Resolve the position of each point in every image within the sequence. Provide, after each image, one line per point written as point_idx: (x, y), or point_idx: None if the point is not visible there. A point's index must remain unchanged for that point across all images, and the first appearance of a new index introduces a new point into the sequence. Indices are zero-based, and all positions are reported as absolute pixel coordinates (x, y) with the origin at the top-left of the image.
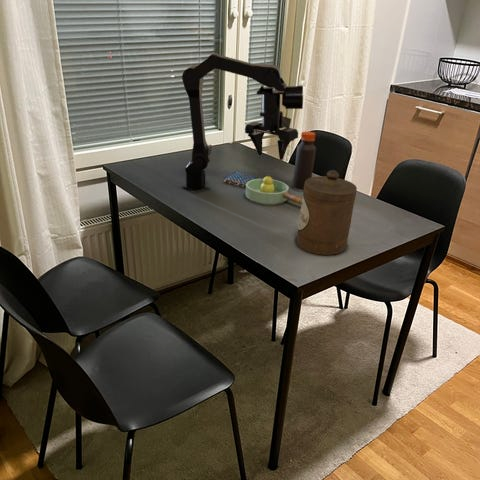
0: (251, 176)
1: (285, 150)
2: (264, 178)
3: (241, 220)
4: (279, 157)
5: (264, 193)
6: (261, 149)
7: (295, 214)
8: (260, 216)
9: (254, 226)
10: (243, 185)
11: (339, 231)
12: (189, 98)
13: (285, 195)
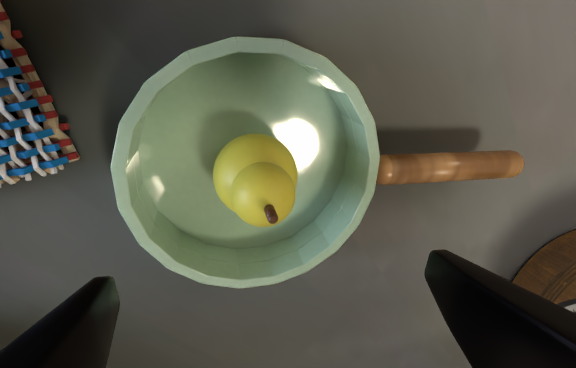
0: None
1: (565, 321)
2: (252, 224)
3: (329, 361)
4: (439, 306)
5: (316, 264)
6: (82, 336)
7: (439, 196)
8: (354, 303)
9: (380, 353)
10: (54, 169)
11: None
12: None
13: (390, 183)
